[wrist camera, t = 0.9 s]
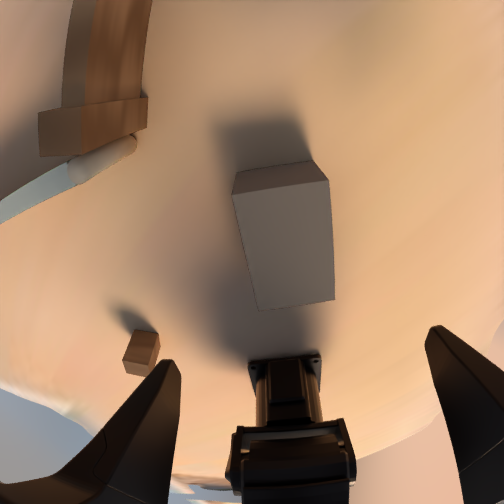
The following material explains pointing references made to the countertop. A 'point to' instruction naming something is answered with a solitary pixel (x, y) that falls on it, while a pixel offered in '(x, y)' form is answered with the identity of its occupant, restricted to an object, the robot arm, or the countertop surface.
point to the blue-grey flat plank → (66, 176)
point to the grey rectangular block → (286, 234)
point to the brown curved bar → (103, 104)
